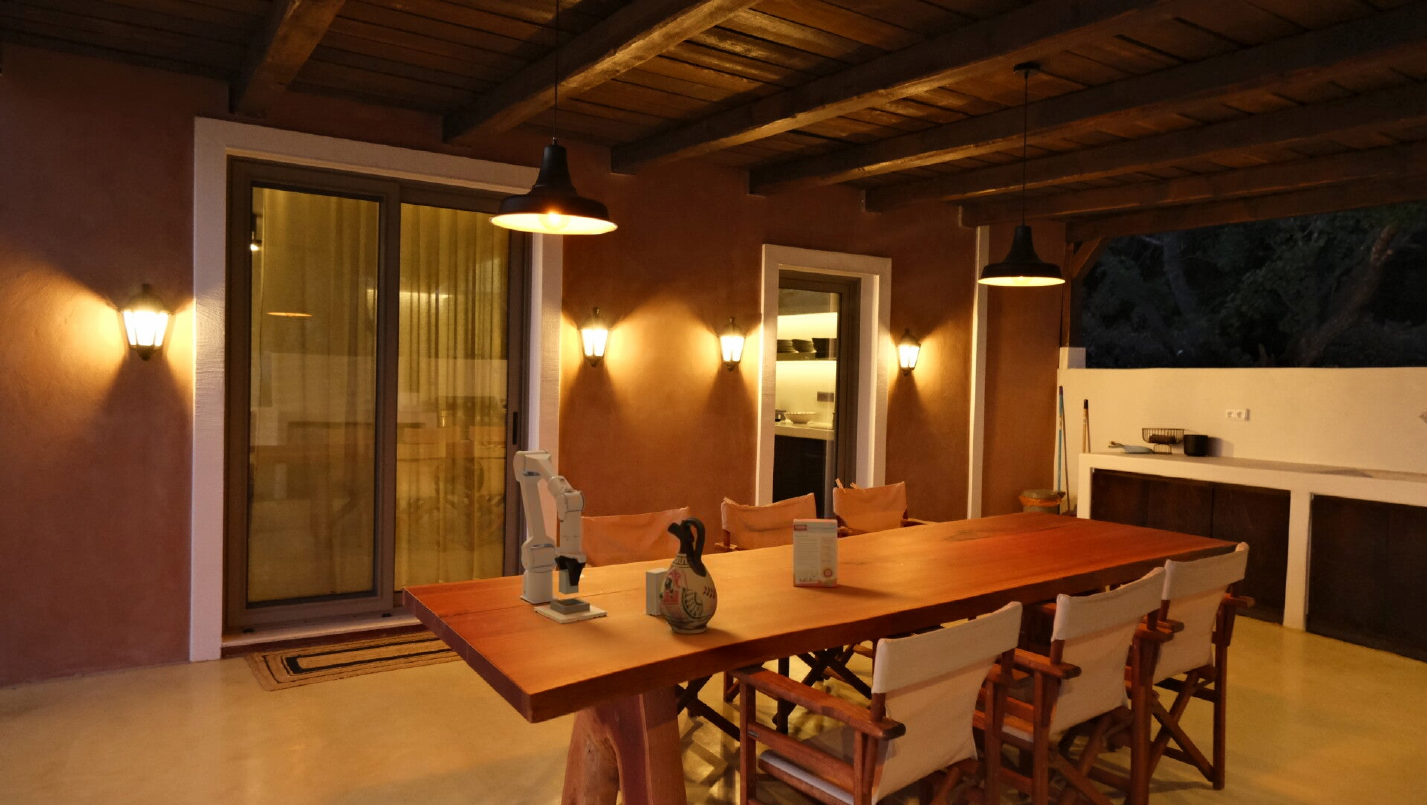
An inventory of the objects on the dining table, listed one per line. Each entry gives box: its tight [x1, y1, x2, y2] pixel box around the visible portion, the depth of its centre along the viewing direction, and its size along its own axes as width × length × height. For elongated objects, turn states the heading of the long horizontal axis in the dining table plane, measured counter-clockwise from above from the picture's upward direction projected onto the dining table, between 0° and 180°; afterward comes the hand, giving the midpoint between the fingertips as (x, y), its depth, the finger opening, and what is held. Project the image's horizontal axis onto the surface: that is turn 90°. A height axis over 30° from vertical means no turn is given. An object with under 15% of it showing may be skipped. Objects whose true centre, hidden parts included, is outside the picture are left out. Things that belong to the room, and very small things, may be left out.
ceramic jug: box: [659, 517, 718, 636], centre depth 231 cm, size 17×15×30 cm
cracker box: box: [792, 518, 838, 588], centre depth 283 cm, size 14×6×21 cm, turn 84°
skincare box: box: [645, 567, 669, 617], centre depth 248 cm, size 6×4×12 cm
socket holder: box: [533, 597, 608, 625], centre depth 247 cm, size 16×14×3 cm
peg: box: [558, 569, 580, 596], centre depth 247 cm, size 4×4×6 cm
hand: (570, 584), depth 247 cm, fingers closed on peg, 4 cm apart
